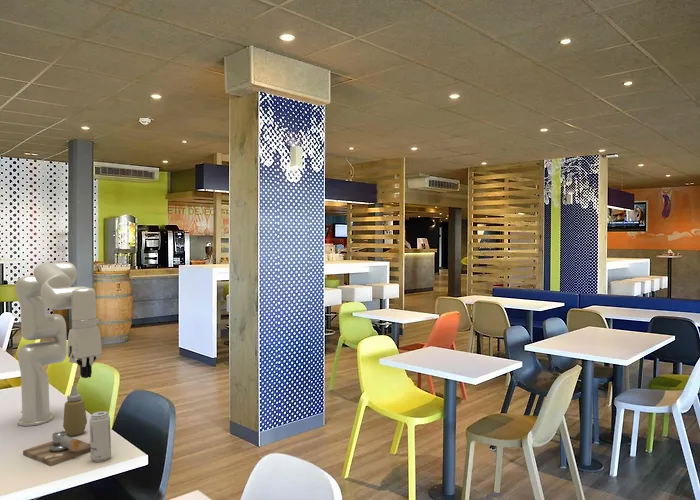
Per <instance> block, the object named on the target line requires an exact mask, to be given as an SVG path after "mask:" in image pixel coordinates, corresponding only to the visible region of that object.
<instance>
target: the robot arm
mask: <svg viewBox="0 0 700 500" xmlns="http://www.w3.org/2000/svg"><path fill="white" fill-rule="evenodd" d="M77 277H78V271H77V268H76V265H74V264H73V263H72V262H69V261H68V262H66V261H62V262H60V261H59V262H46V263H41V264H39V265H37V266H36V267H35V268H34V269H33V275H26V276H25V275H24V276H21V277H18V279H17V280H16V281H15V284H14V285H15V286H14V292H15V295H16V298H17V300H18V303H19V307H20V329H21V336H22V338H23V339H24V340H26V341H35V340H36V341H37V340H44V339H51V340H47V341H38V342H32V343H27V344H24V345H22V346H20V348H18V350H17V353H16V354H17V356H16V358H17V361H18V365H19V371H20V383H21V384H20V385H21V386H20V387H21V389H20V390H21V408H22V409H21V411H20V413H21V415H22V418H20V419H18V420H17V424H18V425H19V426H21V427H32V426H33V427H34V426H38V425H43V424H45V423H48V422H51V421H53V420H54V419H55V415H54V414H53V413H51V412H50V408H51V407H50V385H49V384H50V383H49V375H48V373H47V372H46V371H45V370H44V369H43V368H42V366H47V365H54V364H59V363H61V362H63V361H65V360H66V358H67V357H68V358H69V359H68V362H69V363H71V364H76V365H78V367H79V370H80V371H79V373H80V376H81V378H83V379H89V378H91V377H92V374H93V373H92V370H93V369H92V366H93V365H94V363H95V361H96V360H97V359H100V358H101V357H102V352H103V351H102V349H103V347H102V339H101V337H102V336H101V333H100V328H99V326H97V325H98V323H100V319H99V318H97V304H96V303H97V302H96V300H97V299H96V298H97V297H96V290H95V289H94V288H92V287H87V286H83V285H82V286H73V284H74V283H75V282H76V280H77ZM46 307H47V308H49V309H51V310H54V311H60V310H68V309H69V310H70V309H71V329H69V332H68V334H67V323H66V320H65V318H64V316H63V315H62V314H59V313H54V314H53V313H51V314H46ZM67 335H68V337H67Z"/></svg>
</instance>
